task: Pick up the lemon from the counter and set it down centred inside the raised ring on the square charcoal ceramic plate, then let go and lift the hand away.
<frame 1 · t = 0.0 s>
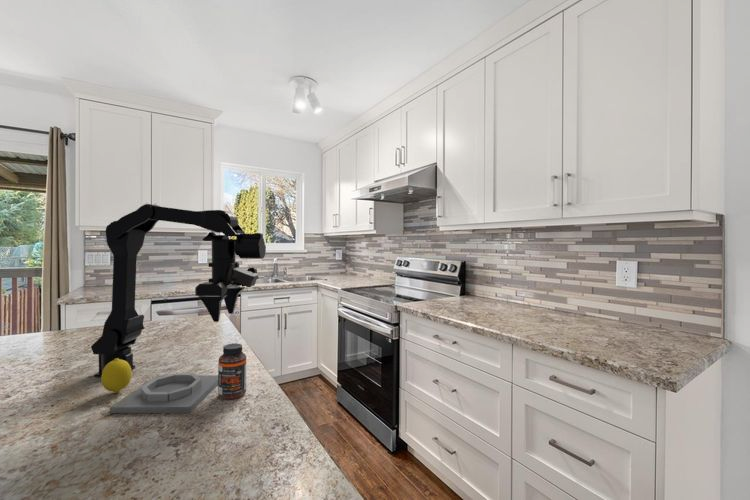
hand: (224, 317, 90), 15 cm above the countertop, tool pointing down, fingers open, 9 cm apart
lemon: (117, 393, 78), on the countertop
ring plate: (172, 394, 77), on the countertop
supplement bottle: (232, 395, 78), on the countertop
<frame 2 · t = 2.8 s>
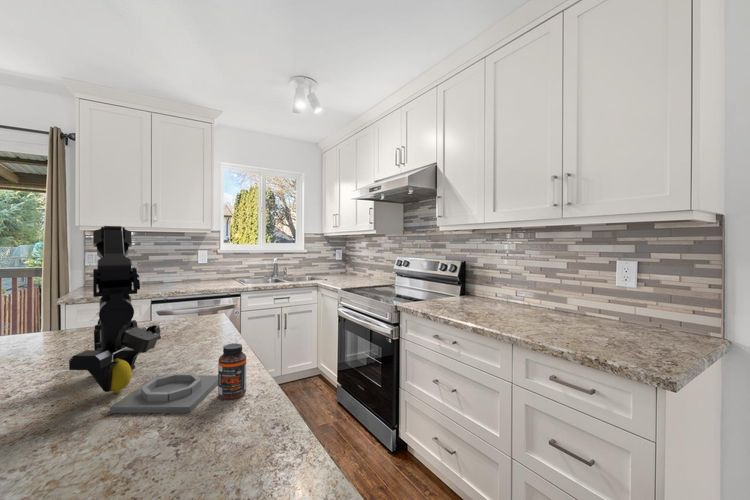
hand: (116, 385, 78), 2 cm above the countertop, tool pointing down, fingers closed on lemon, 5 cm apart
lemon: (117, 393, 78), on the countertop, touching gripper
everything else where it was.
when the fingers open (4 cm above the countertop, at t = 7.5 s): lemon drops 1 cm, resting on ring plate.
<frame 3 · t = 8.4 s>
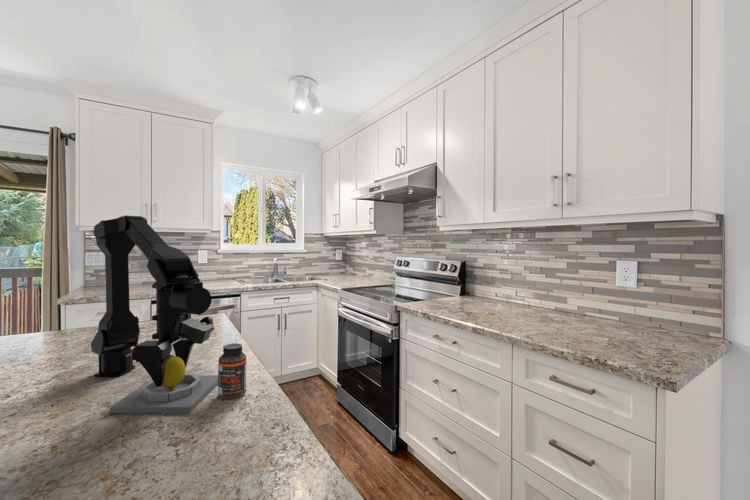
hand: (172, 377, 77), 4 cm above the countertop, tool pointing down, fingers open, 9 cm apart
lemon: (171, 390, 77), point 1 cm above the countertop, touching ring plate
everything else where it was.
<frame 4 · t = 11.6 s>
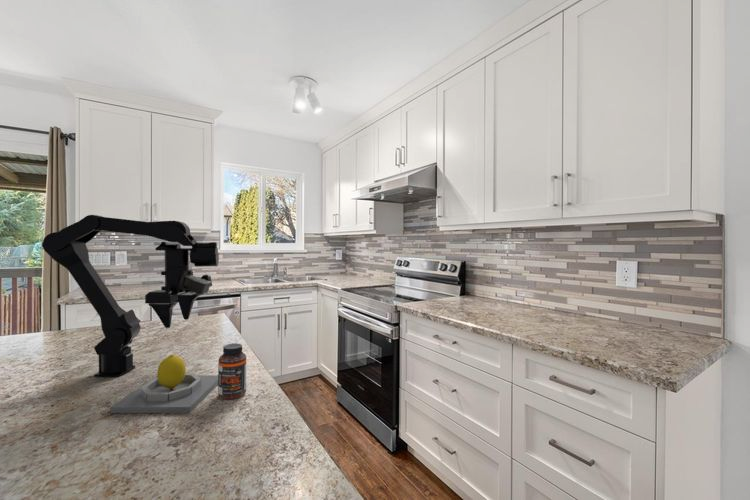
hand: (177, 323, 93), 12 cm above the countertop, tool pointing down, fingers open, 9 cm apart
nothing on the countertop moved.
at the end: lemon 0.1 cm off-centre on the ring plate, point 1.0 cm above the ring plate's base; lemon touching ring plate; the gripper is holding nothing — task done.
